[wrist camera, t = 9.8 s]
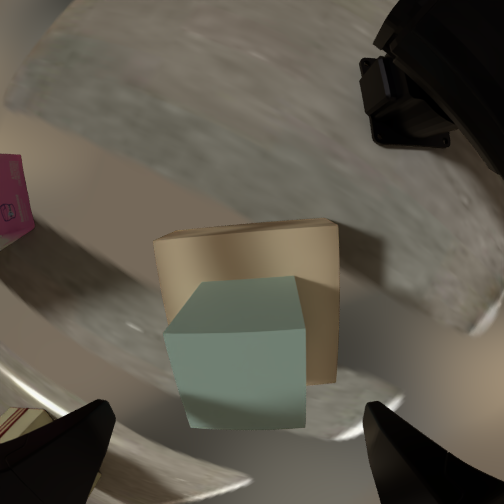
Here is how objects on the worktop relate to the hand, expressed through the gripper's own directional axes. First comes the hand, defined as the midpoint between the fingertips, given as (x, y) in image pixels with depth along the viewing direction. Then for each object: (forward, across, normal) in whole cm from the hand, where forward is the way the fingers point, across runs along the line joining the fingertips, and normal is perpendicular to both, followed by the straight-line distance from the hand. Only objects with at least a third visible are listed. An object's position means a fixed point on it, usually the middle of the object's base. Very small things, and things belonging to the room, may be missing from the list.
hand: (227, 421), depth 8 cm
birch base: (+12, 0, 0) cm, 12 cm away
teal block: (+8, 0, 0) cm, 8 cm away
